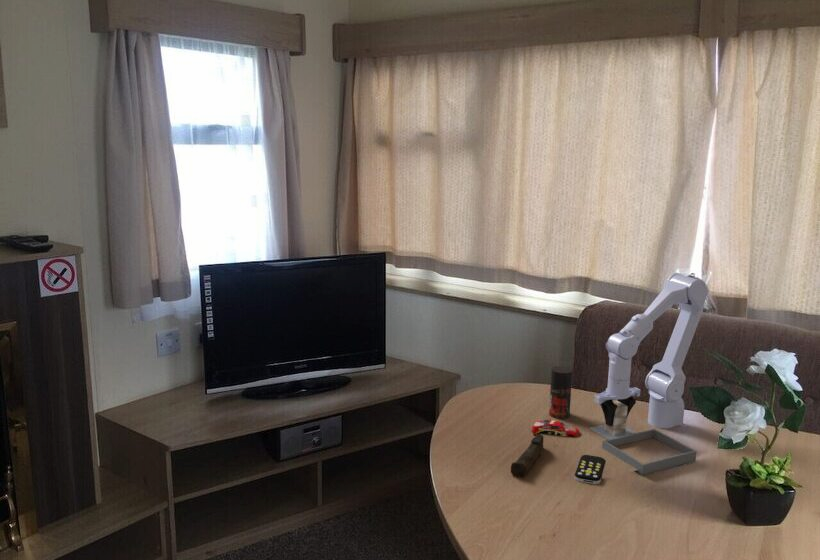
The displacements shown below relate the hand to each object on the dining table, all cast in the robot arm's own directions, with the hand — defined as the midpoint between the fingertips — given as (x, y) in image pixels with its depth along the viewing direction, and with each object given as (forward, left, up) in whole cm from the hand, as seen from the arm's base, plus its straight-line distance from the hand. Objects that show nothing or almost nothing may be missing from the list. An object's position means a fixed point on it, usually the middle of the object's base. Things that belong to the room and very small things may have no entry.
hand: (615, 423), depth 203 cm
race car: (+15, -7, -4) cm, 17 cm away
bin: (+1, +14, -3) cm, 14 cm away
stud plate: (0, 0, -3) cm, 3 cm away
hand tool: (+31, +3, -4) cm, 31 cm away
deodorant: (+7, -16, -4) cm, 18 cm away
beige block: (0, 0, -2) cm, 2 cm away
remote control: (+20, +14, -4) cm, 25 cm away
